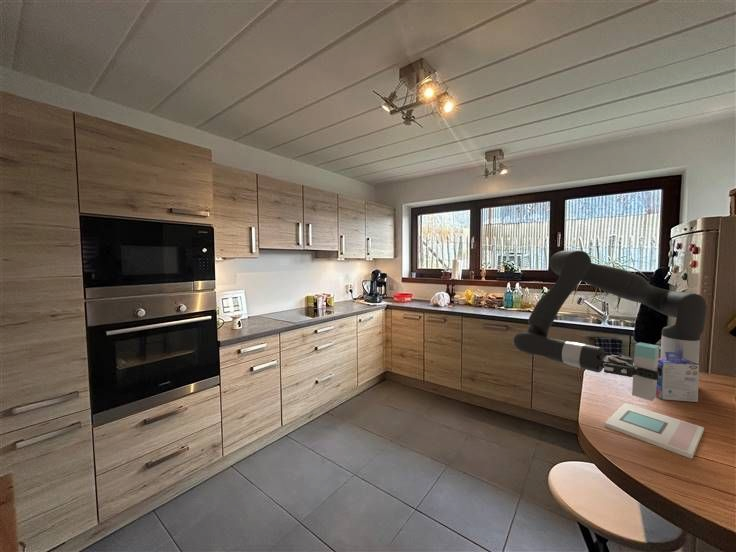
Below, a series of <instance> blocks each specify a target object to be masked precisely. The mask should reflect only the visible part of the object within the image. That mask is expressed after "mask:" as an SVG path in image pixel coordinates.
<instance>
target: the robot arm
mask: <svg viewBox="0 0 736 552" xmlns="http://www.w3.org/2000/svg"><path fill="white" fill-rule="evenodd" d="M548 265H549V267H550V269H551V271H552V273H553V272H554V273H555V274H556V275H557V276H558V278H557V280H556V281H555V283H554V285H552V287H551V288H550V289H549V290H548V291H547V292H546V293H545V294H544V295H543V296H542V297H541V298H540V299H539V300H538V302H537V303H536V304H535V306H534V307H533V310H532V311H531V313H530V315H529V316H528V320H527V323H528V325H529V327H528V330H527V331H521V332H518V333H516V334H515V336H514V338H513V344H514V346H515V348H516V349H517V350H519V351H520V352H522V353H525V354H527V355H530V356H535V355H536V356H541V357H545V358H547V359H549V360H552V361H556V362H560V363H563V364H567V365H568V366H573V367H576V368H579V369H583V370H587V371H589V372H594V373H601V372H602V371H603V372H604V373H605V374H611V375H616V376H617V375H618V376H623V377H627V378H633V376H641V377H645V378H649V379H653V380H657V379H658V377H659V376H662V374H663V369H662V368H661V367H658V371H653V370H649V369H645V368H640V367H639V369H638V367H637V366H634V357H631V356H628V355H624V354H621V353H619V354H618V355H615V354H610V355H609V354H607V353H606V351H605V349H604V348H603V347H602V346H596V345H592V344H587V343H581V342H576V341H568V340H562V339H557V338H551V337H548V335H549V334H548V333H549V330H550V328H551V326H552V325H553V323H554V321H555V319H556V318H557V315H558V313H559V312H560V310H561V308H562V306H563V305H564V304H565V302H566V300H567V299H568V298H569V296H571V294H572V293H573V291H574V290H575V289H576V287H577V286H578V285H579V284H580V282H583V283H585V284H588V285H590V286H592V287H594V288H597V289H598V290H601V291H604V292H606V293H609V294H611V295H613V296H616V297H618V298H621V299H625V300H628V301H631V302H635V303H639V304H642V305H644V306H647V307H648V308H651V309H653V310H655V311H656V312H658V313H661V314H663V315H665V316H667V317H673V318H675V322H674V323H675V324H673V325H670V326H669V325H668V326H664V327H663V328H662V329H661V341H660V343H661V345H660V358H666V354H665V352H677V353H678V354H679V356H680V358H681V359H687V360H689V361H692V362H694V363H697V364H699V362H700V361H699V359H700V345H701V344H700V343H701V336H702V334H703V332H704V329H705V324H706V317H707V316H706V315H707V308H708V307H707V301H706V300H705V298H704V297H703V296H702V295H701V294H698V293H693V292H685V291H675V290H668V289H664V288H660V287H657V286H654V285H652V284H650V283H649V281H648V280H647V279H646V278H644V277H643V276H641V275H638V274H636V273H633V272H631V271H628V270H625V269H621V268H619V267H614V266H609V265H605V264H604V265H603V264H598V263H594V262H592V259H591V257H590V255H589V254H588V253H587V252H585V251H583V250H577V249H576V250H575V249H572V250H571V249H570V250H569V249H568V250H561V251H558V252H556V253H555V252H554V254H552V255H551V256H550V258H549V263H548ZM668 356H669V357H677V355H674V354H670V355H668ZM699 365H700V364H699Z"/></svg>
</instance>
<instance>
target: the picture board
mask: <svg viewBox="0 0 736 552" xmlns="http://www.w3.org/2000/svg"><path fill="white" fill-rule="evenodd" d="M604 427H605V428H606V427H607V428H609V429H611V430H614V431H617V432H619V433H622V434H625V435H627V436H629V437H633V438H635V439H637V440H640V441H643V442H646V443H649V444H652V445H653V446H655V447H656V446H657V447H659V448H662V449H664V450H667V451H670V452H672V453H675V454H678V455H680V456H683V457H686V458H688V459H693V457H694V455H695V453H696V451H697V449H698V446H699V443H700V441H701V439H702V436H703V433H704V432H705V427H704V426H700V425H697V424H694V423H692V422H691V423H690V422H687V421H684V420H681V419H678V418H675V417H672V416H668V415H665V414H661V413H658V412H656V411H655V412H654V411H653V410H652V411H651V410H649V409H646V408H643V407H639V406H636V405H633V404H629V403H625V402H624V403H623V404H622V405H621V406H620V407H619V408H618V409H617V410H616V411H615V412H614V413H613V414H612V415H611V416H610V417H609V418H608V419H606V421H605V422H604Z"/></svg>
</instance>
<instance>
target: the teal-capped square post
mask: <svg viewBox="0 0 736 552" xmlns="http://www.w3.org/2000/svg"><path fill="white" fill-rule="evenodd" d="M659 351H660V345H657V344H652V343H647V342H646V343H645V342H641V341H640V342H637V343H636V344H634V355H633V358H634V363H633V365H634V366H637V367H638V369H639V367H640V368H645V369H649V370H653V371H658V358H660V357H659V355H660V354H659V353H660V352H659ZM656 387H657V380H653V379H649V378H645V377H641V376H633V377H632V387H631V389H632V390H631V396H634V397H637V398H640V399H643V400H647V401H650V402H653V401H654V400H655V398H657V396H656Z"/></svg>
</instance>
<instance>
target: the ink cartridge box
mask: <svg viewBox="0 0 736 552" xmlns="http://www.w3.org/2000/svg"><path fill="white" fill-rule="evenodd" d="M665 354H666V358H661V357H658V367H661V368H662V369H663V374H662V376H659V377H658V379H657V387H656V398H659V399H661V400H667V401H678V402H679V401H680V402H681V401H682V402H693V403H694V402H695V403H697V402H699V401H698V400H699V381H700V380H699V379H700V373H699V372H700V364H697V363H694V362H692V361H689V360H687V359H681V358H680V356H679V354H678V353H677V352H665ZM670 354H674V355H677V357H669V356H668V355H670Z"/></svg>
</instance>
